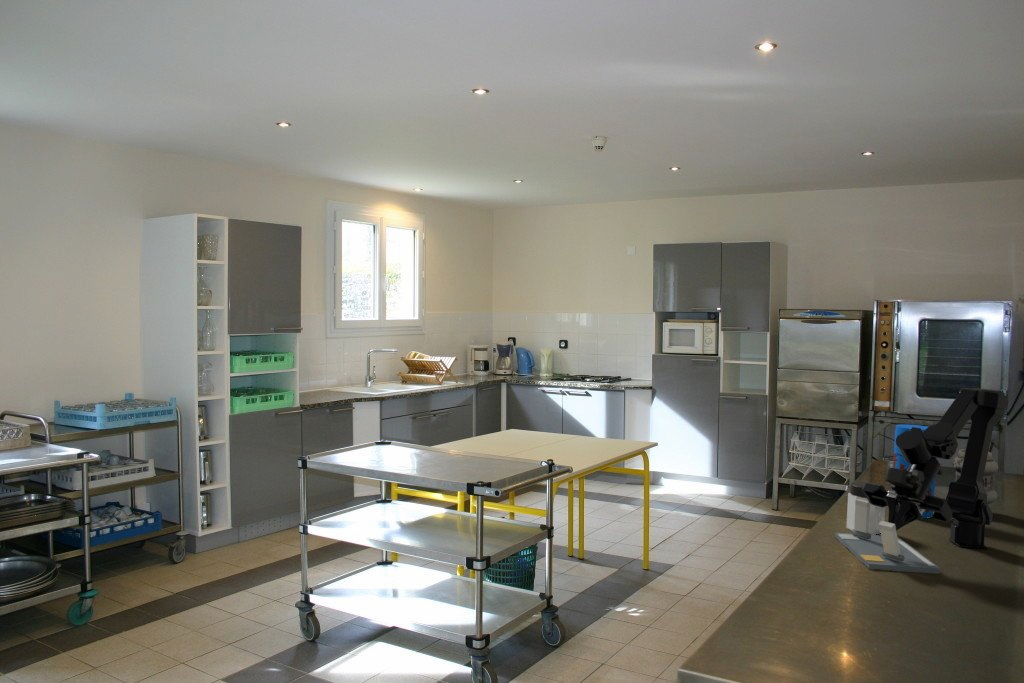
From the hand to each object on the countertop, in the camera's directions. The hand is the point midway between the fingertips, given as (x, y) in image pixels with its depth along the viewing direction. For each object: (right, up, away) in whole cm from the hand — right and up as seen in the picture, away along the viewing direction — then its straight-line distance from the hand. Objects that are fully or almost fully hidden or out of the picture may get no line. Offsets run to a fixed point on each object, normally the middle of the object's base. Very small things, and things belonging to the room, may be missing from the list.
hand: (889, 531), depth 176 cm
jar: (+8, -7, +30) cm, 32 cm away
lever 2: (+1, -6, +1) cm, 6 cm away
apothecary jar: (+50, -8, +54) cm, 74 cm away
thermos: (+30, -7, +50) cm, 59 cm away
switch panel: (+3, -8, +10) cm, 13 cm away
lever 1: (+2, -5, +18) cm, 19 cm away
